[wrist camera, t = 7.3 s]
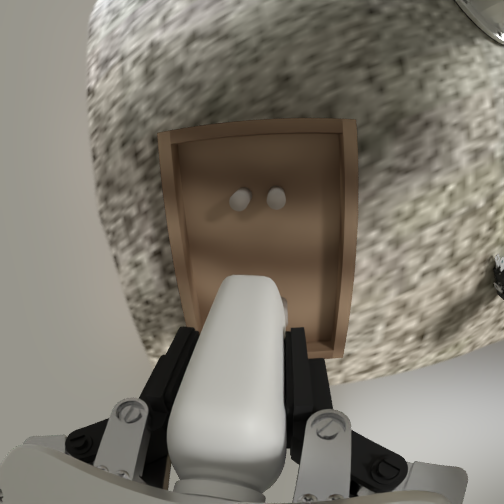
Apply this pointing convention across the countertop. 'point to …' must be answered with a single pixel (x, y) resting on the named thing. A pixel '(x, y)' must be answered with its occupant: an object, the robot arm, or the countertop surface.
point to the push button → (499, 275)
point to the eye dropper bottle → (233, 397)
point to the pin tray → (266, 217)
